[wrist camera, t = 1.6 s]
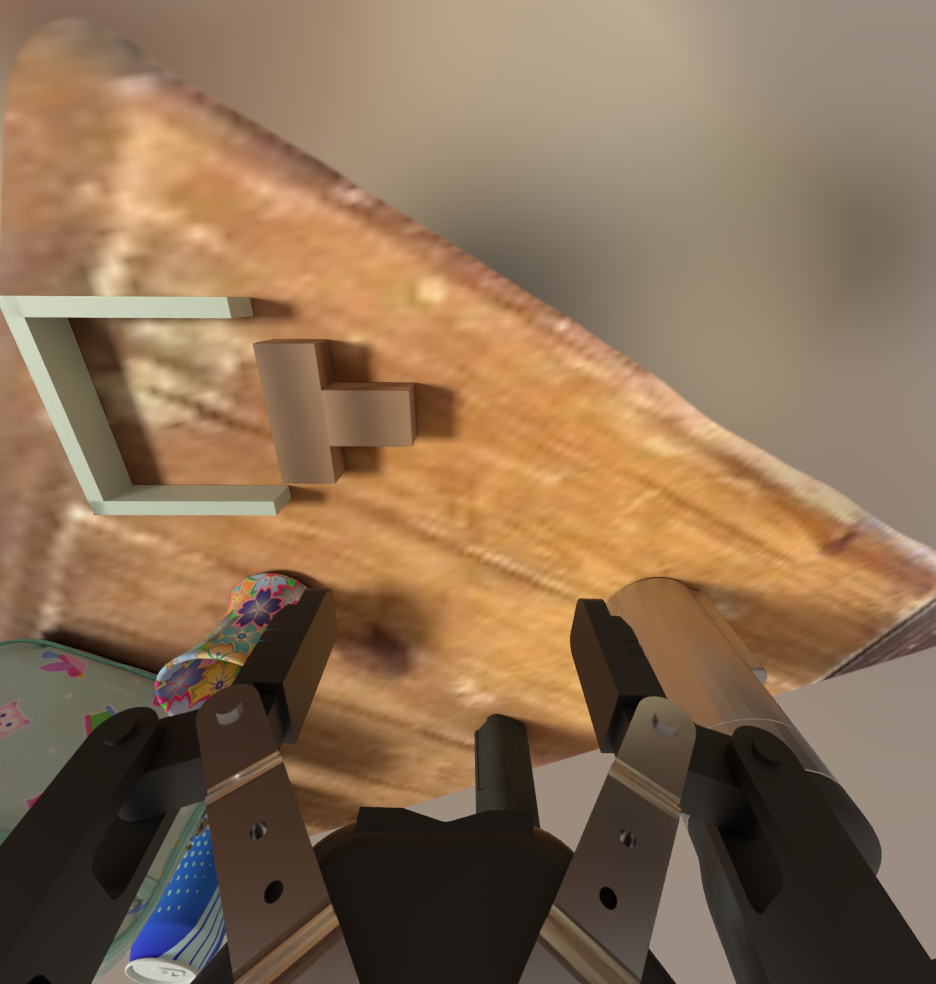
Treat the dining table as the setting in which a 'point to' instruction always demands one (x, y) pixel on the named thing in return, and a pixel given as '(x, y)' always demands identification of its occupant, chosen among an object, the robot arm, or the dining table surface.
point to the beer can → (182, 922)
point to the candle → (504, 768)
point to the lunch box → (60, 732)
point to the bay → (84, 420)
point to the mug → (225, 643)
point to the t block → (326, 410)
